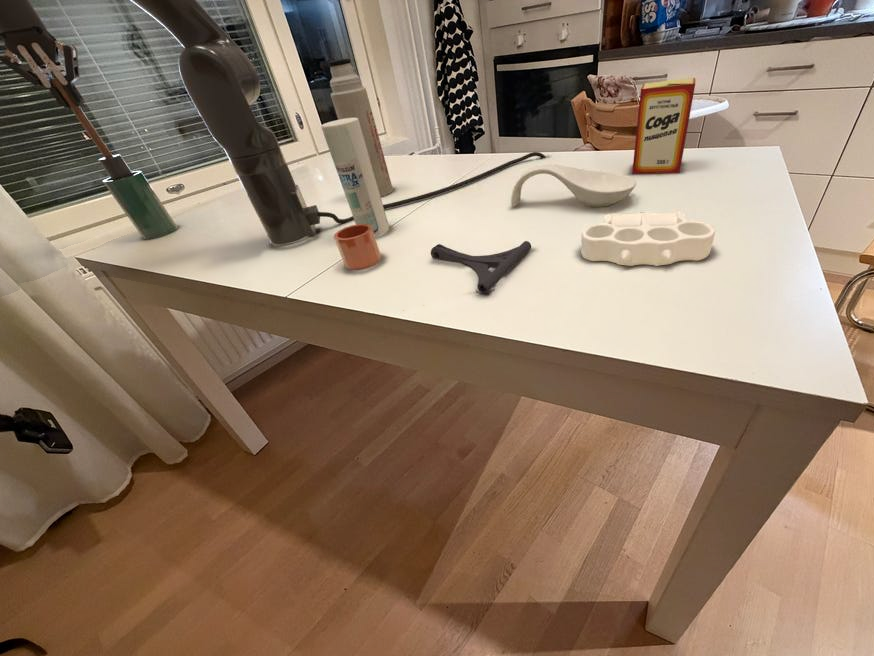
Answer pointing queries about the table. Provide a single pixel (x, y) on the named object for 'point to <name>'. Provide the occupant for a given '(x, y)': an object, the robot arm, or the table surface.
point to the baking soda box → (662, 126)
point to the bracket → (484, 263)
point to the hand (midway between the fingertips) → (74, 106)
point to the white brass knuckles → (647, 239)
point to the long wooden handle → (97, 140)
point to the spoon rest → (582, 184)
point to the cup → (141, 205)
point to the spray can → (356, 172)
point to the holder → (358, 246)
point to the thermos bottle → (359, 116)
